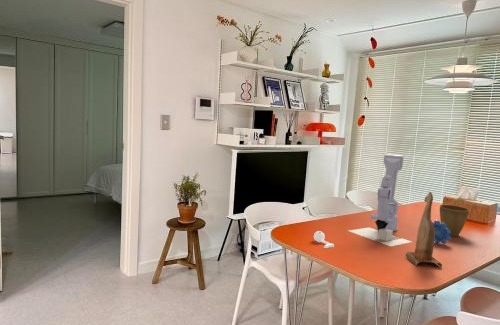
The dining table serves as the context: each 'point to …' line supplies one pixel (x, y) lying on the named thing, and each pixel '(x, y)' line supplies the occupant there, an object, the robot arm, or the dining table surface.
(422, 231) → the bird sculpture
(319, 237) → the figurine
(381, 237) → the cream white cube
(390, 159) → the robot arm
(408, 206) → the dining table surface
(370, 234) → the subfloor board
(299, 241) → the dining table surface
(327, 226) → the dining table surface
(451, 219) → the plant pot
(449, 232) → the grapes
